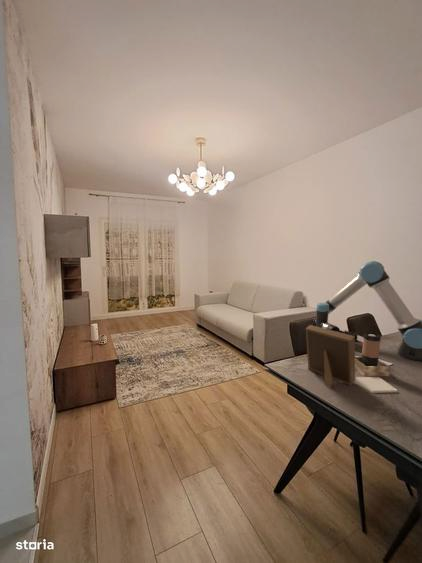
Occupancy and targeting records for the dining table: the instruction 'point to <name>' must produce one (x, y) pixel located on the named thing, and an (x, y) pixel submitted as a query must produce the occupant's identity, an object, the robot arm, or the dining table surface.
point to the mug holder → (371, 368)
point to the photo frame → (331, 354)
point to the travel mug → (370, 349)
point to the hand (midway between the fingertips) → (356, 342)
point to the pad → (376, 384)
